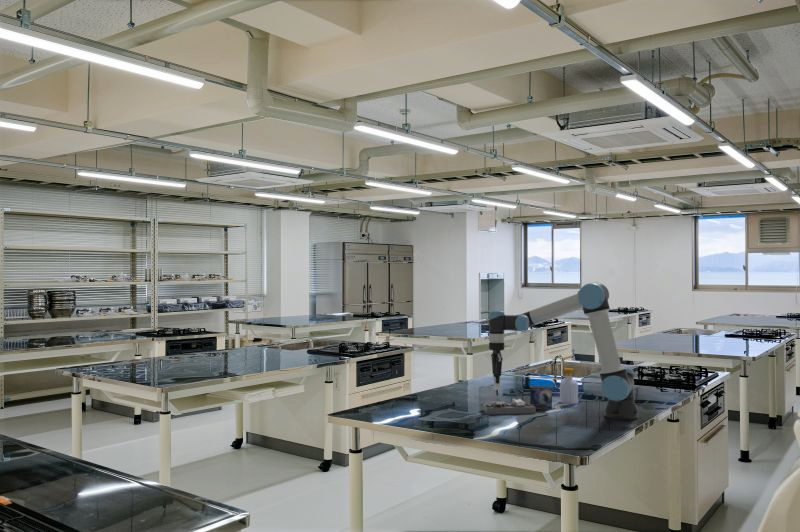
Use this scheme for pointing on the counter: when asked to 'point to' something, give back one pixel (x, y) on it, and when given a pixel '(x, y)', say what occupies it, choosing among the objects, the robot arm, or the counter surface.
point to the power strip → (510, 408)
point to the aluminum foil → (595, 375)
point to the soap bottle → (568, 387)
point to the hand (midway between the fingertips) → (496, 389)
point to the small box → (541, 396)
